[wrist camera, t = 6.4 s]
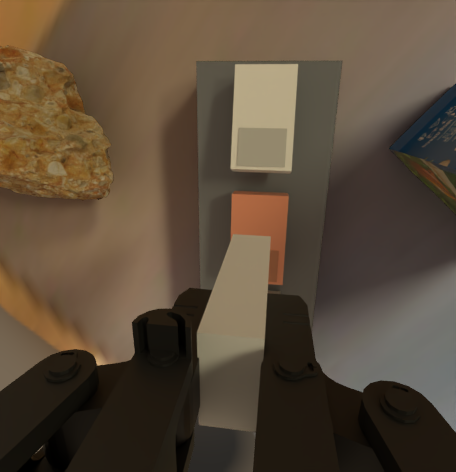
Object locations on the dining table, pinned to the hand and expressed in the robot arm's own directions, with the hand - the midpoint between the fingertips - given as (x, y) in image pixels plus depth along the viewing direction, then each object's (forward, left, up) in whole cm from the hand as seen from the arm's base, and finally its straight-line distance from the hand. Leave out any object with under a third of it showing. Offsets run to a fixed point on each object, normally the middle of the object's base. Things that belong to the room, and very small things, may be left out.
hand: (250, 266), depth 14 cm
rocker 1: (-5, 0, -9) cm, 11 cm away
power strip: (+5, 0, -16) cm, 17 cm away
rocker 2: (+2, 0, -9) cm, 9 cm away
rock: (-4, -16, -16) cm, 24 cm away
